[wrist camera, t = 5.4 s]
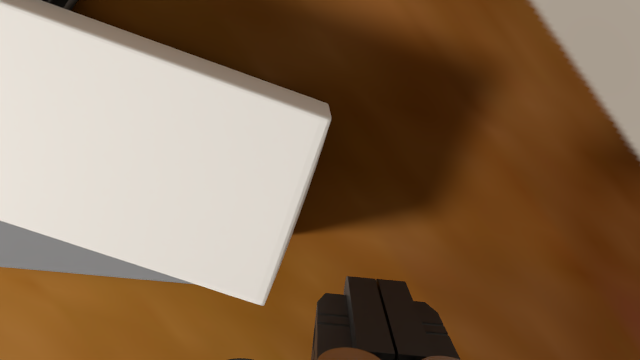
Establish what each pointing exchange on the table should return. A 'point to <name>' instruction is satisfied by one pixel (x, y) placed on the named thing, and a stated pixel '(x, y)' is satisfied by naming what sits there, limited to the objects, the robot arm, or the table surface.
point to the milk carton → (150, 150)
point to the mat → (65, 257)
